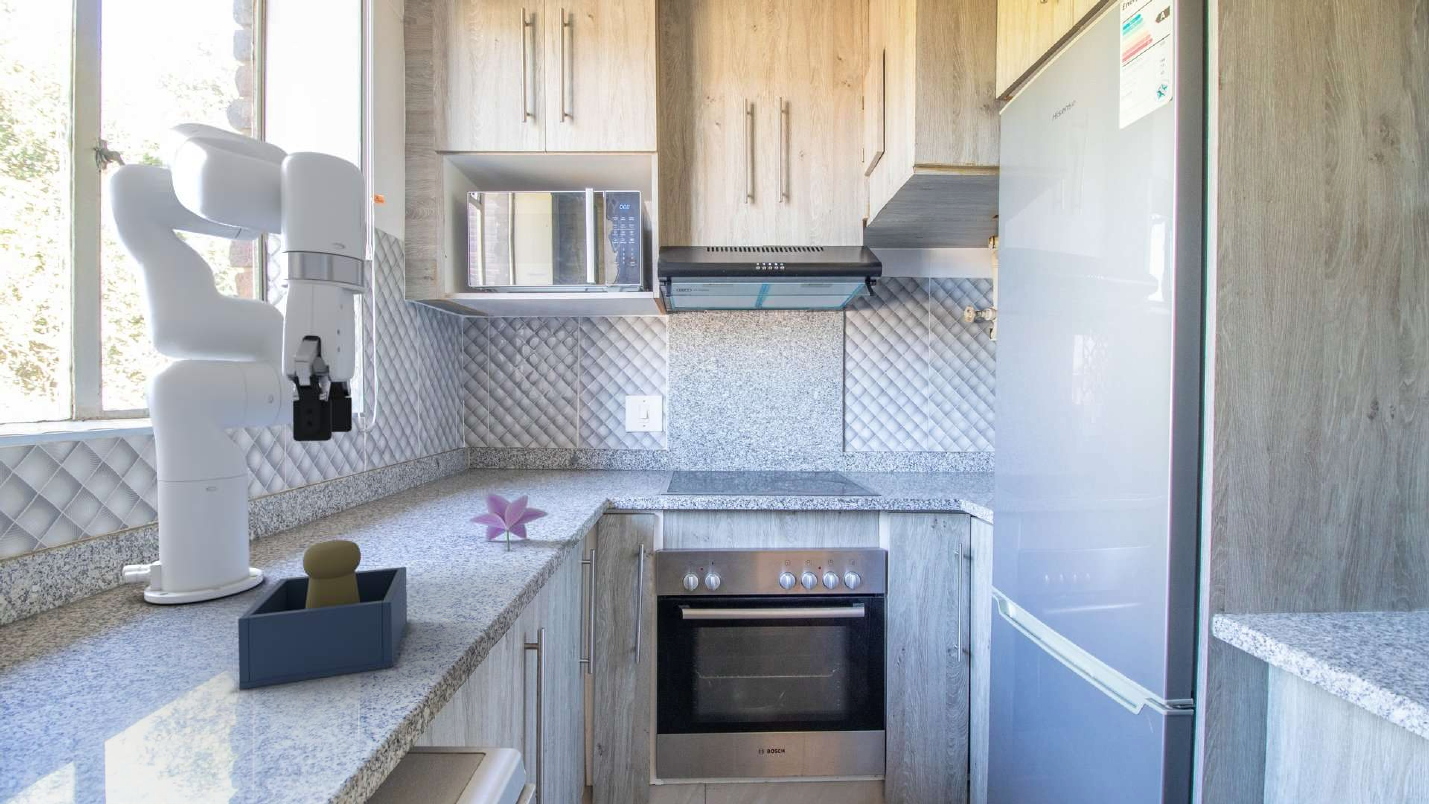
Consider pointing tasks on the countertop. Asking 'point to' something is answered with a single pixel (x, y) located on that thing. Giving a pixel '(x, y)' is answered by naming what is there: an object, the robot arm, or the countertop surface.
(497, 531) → the lily
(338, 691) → the countertop surface
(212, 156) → the robot arm
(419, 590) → the countertop surface
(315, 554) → the cork
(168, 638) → the countertop surface
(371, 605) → the bin
